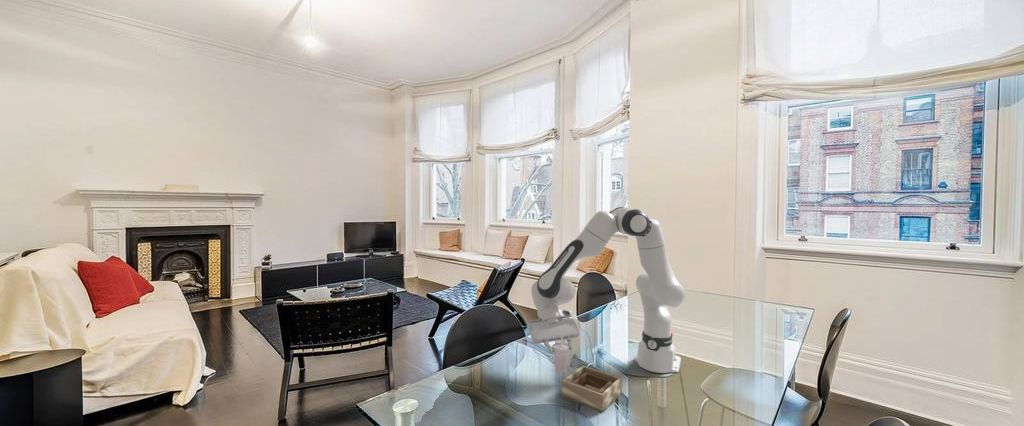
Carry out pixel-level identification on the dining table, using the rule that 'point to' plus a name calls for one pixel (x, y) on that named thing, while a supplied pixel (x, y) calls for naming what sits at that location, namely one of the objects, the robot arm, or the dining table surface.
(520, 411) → the dining table surface
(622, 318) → the dining table surface
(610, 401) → the open wooden box
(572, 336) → the robot arm
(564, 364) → the smoothie
